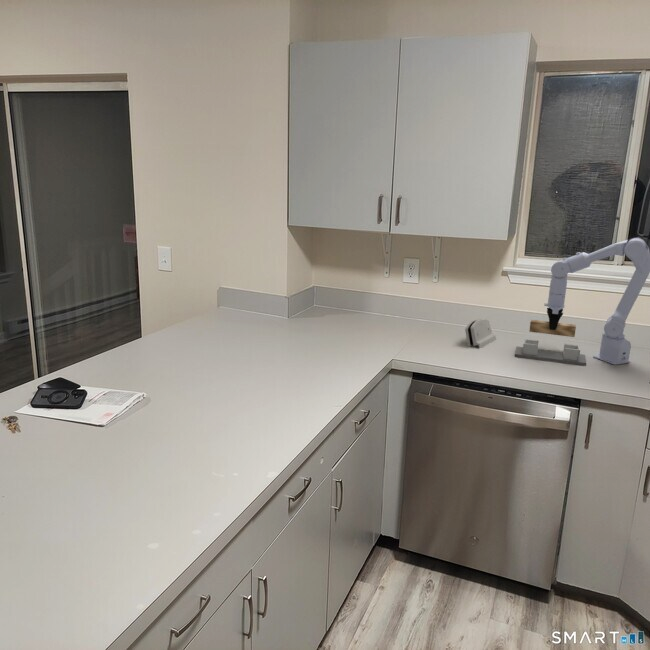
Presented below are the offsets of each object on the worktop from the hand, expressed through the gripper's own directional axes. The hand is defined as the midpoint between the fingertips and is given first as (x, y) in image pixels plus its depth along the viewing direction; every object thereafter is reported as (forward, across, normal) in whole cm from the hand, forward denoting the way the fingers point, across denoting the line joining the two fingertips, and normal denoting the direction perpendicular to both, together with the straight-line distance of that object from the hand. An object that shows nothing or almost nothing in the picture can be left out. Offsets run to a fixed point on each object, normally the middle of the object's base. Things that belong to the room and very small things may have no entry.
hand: (552, 328), depth 222 cm
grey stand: (+9, +2, -26) cm, 28 cm away
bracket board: (+8, +10, 0) cm, 13 cm away
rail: (+2, 0, 0) cm, 2 cm away
